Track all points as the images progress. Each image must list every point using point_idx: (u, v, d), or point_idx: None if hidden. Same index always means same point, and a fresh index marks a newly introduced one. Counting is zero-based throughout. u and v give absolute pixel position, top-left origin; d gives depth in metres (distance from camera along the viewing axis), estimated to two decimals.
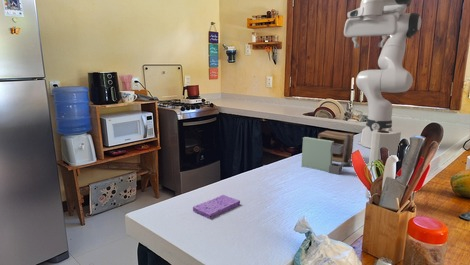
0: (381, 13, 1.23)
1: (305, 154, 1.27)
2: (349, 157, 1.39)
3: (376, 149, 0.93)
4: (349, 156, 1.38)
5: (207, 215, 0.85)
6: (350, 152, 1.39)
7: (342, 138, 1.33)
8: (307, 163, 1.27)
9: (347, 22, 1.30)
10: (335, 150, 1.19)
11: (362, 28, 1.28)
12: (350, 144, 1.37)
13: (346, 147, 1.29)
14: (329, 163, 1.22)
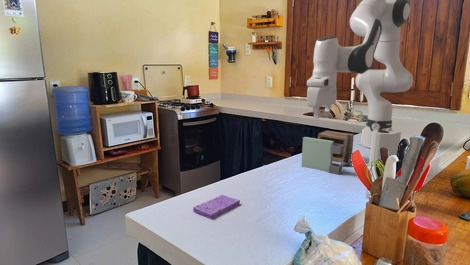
0: None
1: (305, 154, 1.27)
2: (349, 157, 1.39)
3: (376, 149, 0.93)
4: (349, 156, 1.38)
5: (208, 215, 0.84)
6: (350, 152, 1.39)
7: (342, 138, 1.33)
8: (307, 163, 1.27)
9: (320, 91, 1.12)
10: (335, 150, 1.19)
11: (324, 98, 1.17)
12: (350, 144, 1.37)
13: (346, 147, 1.29)
14: (329, 163, 1.22)
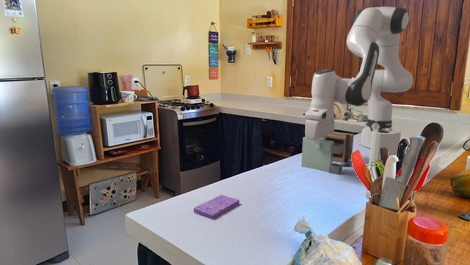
0: None
1: (305, 154, 1.27)
2: (349, 157, 1.39)
3: (376, 149, 0.93)
4: (349, 156, 1.38)
5: (209, 215, 0.84)
6: (350, 152, 1.39)
7: (342, 138, 1.33)
8: (307, 163, 1.27)
9: (318, 125, 1.14)
10: (335, 150, 1.19)
11: (322, 129, 1.20)
12: (350, 144, 1.37)
13: (346, 147, 1.29)
14: (329, 163, 1.22)
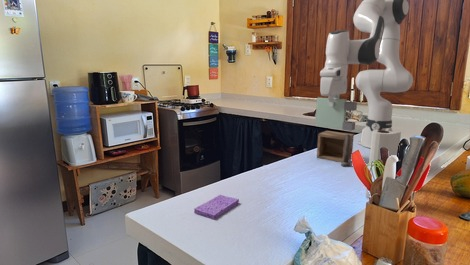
0: None
1: (319, 113, 1.33)
2: (349, 157, 1.39)
3: (376, 149, 0.93)
4: (349, 156, 1.38)
5: (211, 216, 0.84)
6: (350, 152, 1.39)
7: (342, 138, 1.33)
8: (321, 122, 1.33)
9: (333, 81, 1.20)
10: (348, 107, 1.24)
11: (336, 88, 1.25)
12: (350, 144, 1.37)
13: (346, 147, 1.29)
14: (342, 120, 1.27)
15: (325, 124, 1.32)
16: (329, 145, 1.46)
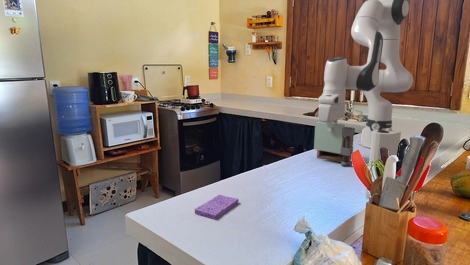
0: None
1: (317, 137, 1.35)
2: (349, 157, 1.39)
3: (376, 149, 0.93)
4: (349, 156, 1.38)
5: (212, 216, 0.84)
6: None
7: None
8: (319, 146, 1.35)
9: (331, 108, 1.22)
10: (346, 132, 1.26)
11: (334, 113, 1.28)
12: (350, 144, 1.37)
13: (346, 147, 1.29)
14: (340, 145, 1.30)
15: (323, 148, 1.34)
16: None
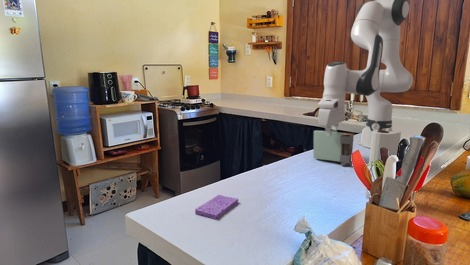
0: None
1: (316, 146, 1.36)
2: None
3: (376, 149, 0.93)
4: None
5: (213, 216, 0.84)
6: (350, 152, 1.39)
7: None
8: (319, 155, 1.36)
9: (330, 113, 1.22)
10: (344, 140, 1.27)
11: (334, 118, 1.28)
12: (350, 144, 1.37)
13: (346, 147, 1.29)
14: (339, 153, 1.30)
15: (323, 156, 1.35)
16: None
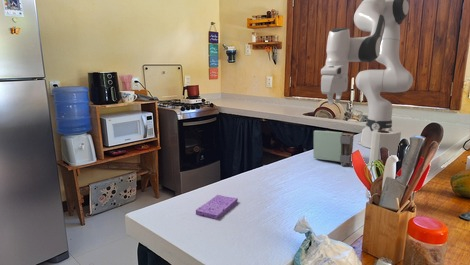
0: None
1: (316, 146, 1.36)
2: None
3: (376, 149, 0.93)
4: None
5: (214, 216, 0.84)
6: (350, 152, 1.39)
7: None
8: (319, 155, 1.36)
9: (333, 79, 1.20)
10: (344, 140, 1.27)
11: (337, 86, 1.25)
12: (350, 144, 1.37)
13: (346, 147, 1.29)
14: (339, 153, 1.30)
15: (323, 156, 1.35)
16: None
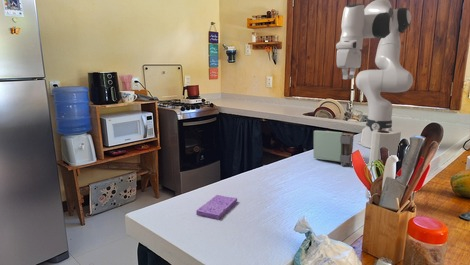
0: None
1: (316, 146, 1.36)
2: None
3: (376, 149, 0.93)
4: None
5: (215, 216, 0.84)
6: (350, 152, 1.39)
7: None
8: (319, 155, 1.36)
9: (349, 53, 1.23)
10: (344, 140, 1.27)
11: (352, 60, 1.28)
12: (350, 144, 1.37)
13: (346, 147, 1.29)
14: (339, 153, 1.30)
15: (323, 156, 1.35)
16: None
